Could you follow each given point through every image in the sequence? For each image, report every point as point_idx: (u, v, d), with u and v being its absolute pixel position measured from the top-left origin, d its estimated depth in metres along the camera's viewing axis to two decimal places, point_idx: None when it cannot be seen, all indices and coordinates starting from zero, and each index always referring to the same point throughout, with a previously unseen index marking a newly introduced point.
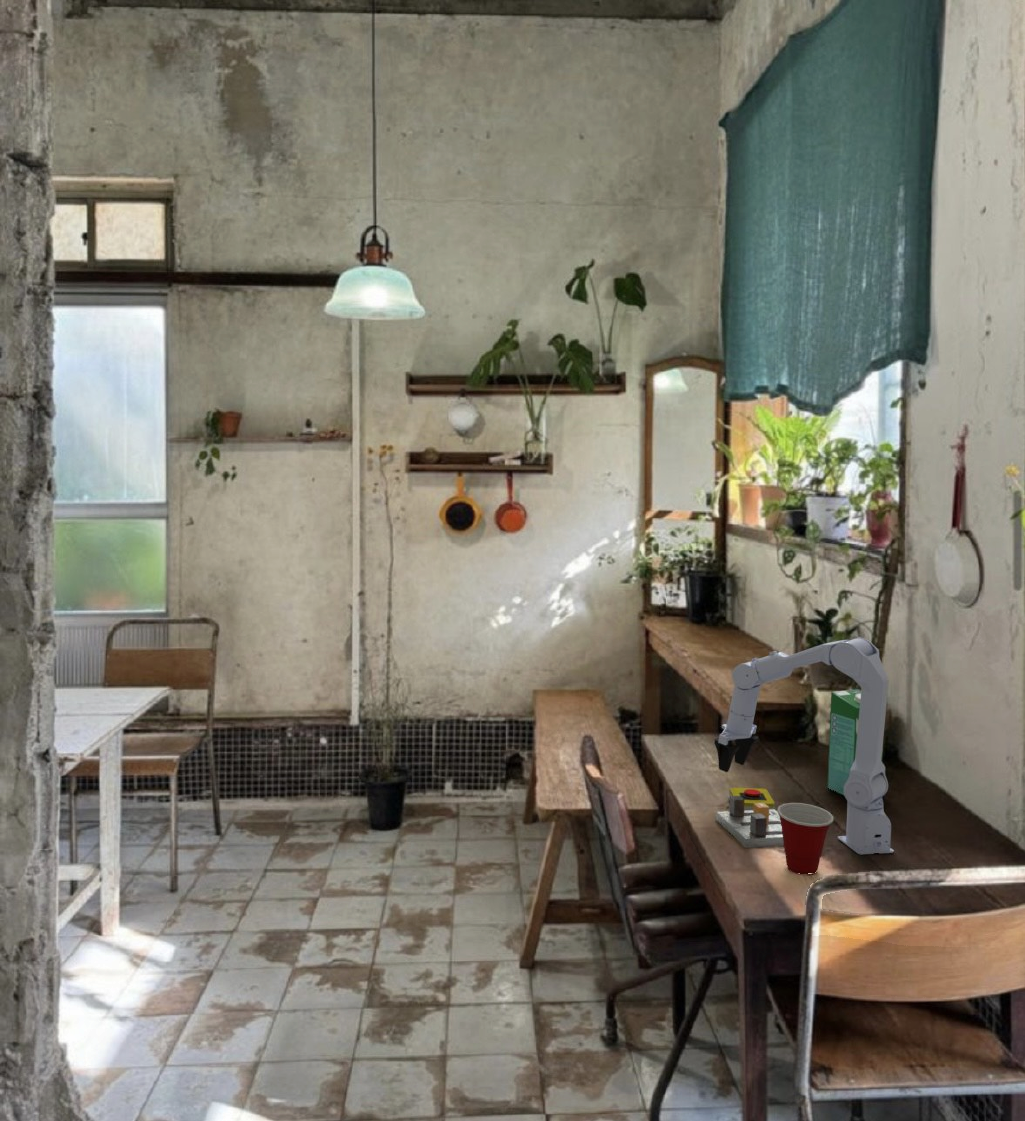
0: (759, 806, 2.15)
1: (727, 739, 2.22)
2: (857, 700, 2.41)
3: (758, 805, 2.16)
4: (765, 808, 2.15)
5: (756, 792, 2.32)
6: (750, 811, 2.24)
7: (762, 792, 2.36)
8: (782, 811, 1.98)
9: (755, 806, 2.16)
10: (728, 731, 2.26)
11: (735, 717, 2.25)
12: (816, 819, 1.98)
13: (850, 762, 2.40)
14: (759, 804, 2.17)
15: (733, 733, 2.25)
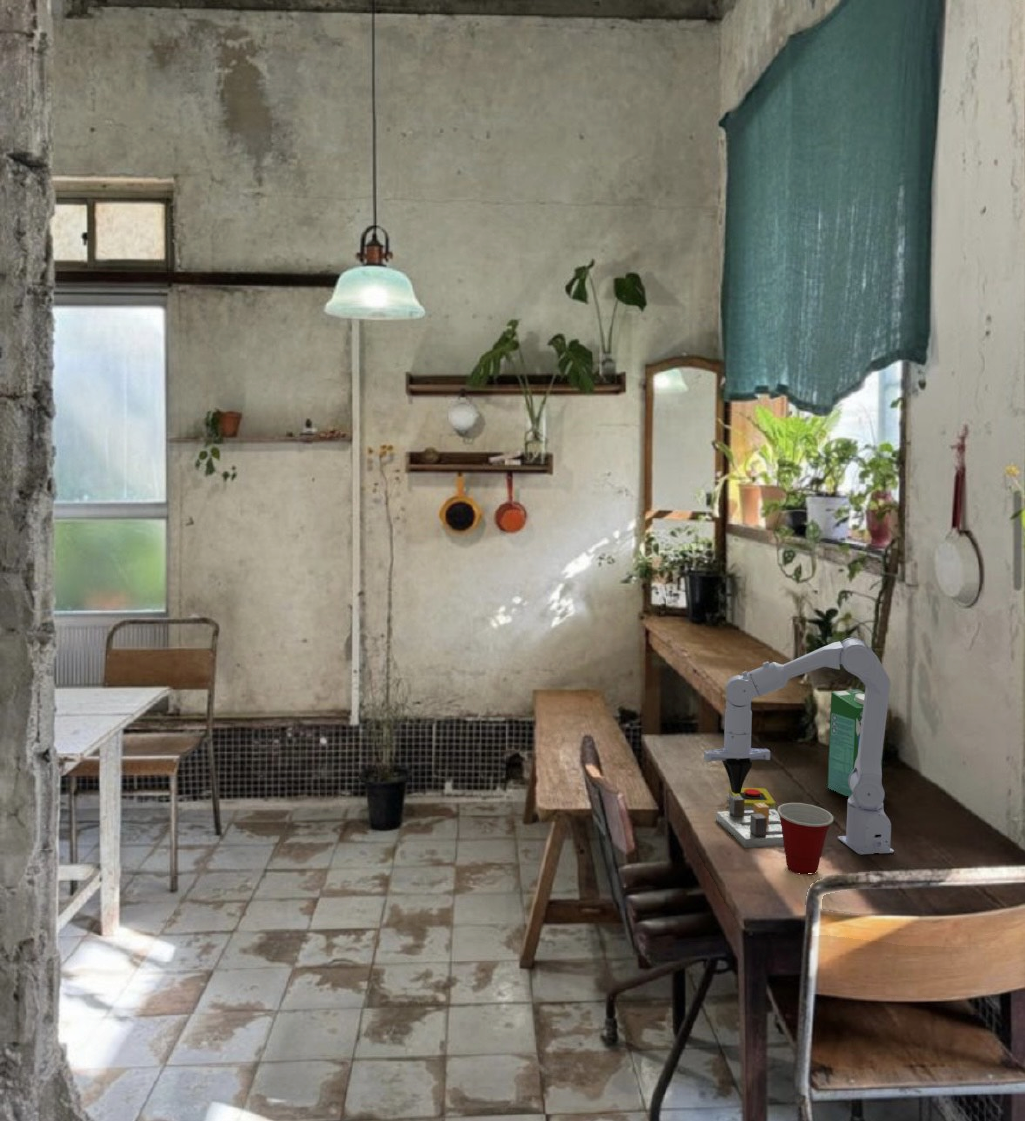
0: (759, 806, 2.15)
1: (708, 755, 2.12)
2: (857, 700, 2.41)
3: (758, 805, 2.16)
4: (765, 808, 2.15)
5: (756, 792, 2.32)
6: (750, 811, 2.24)
7: (762, 792, 2.36)
8: (782, 811, 1.98)
9: (755, 806, 2.16)
10: (723, 750, 2.15)
11: (725, 734, 2.13)
12: (816, 819, 1.98)
13: (849, 762, 2.40)
14: (759, 804, 2.17)
15: (724, 752, 2.13)
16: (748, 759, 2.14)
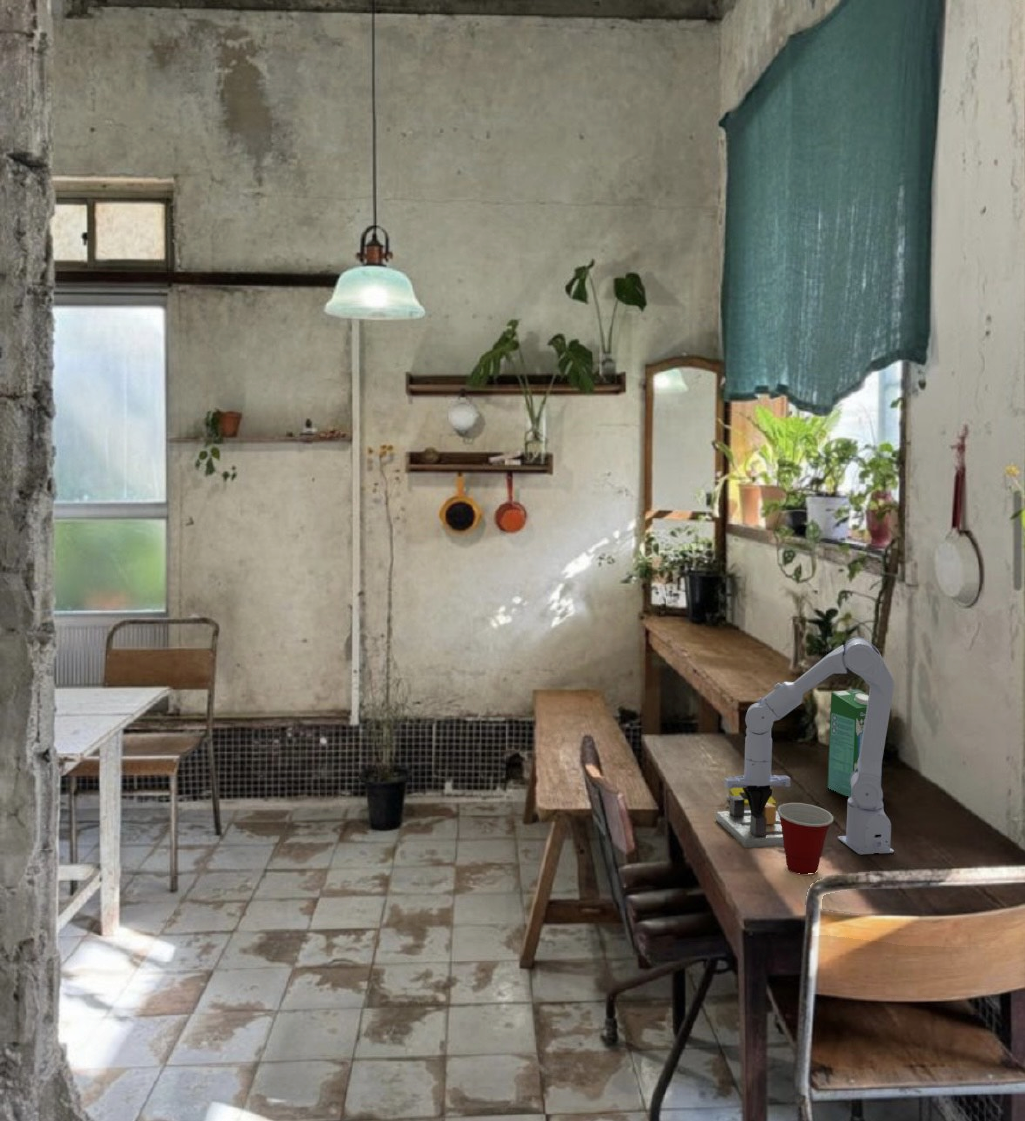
0: (766, 806, 2.15)
1: (729, 783, 2.13)
2: (857, 700, 2.41)
3: (765, 805, 2.16)
4: (772, 808, 2.15)
5: None
6: (750, 811, 2.24)
7: None
8: (782, 811, 1.98)
9: None
10: (743, 777, 2.16)
11: (745, 761, 2.14)
12: (816, 819, 1.98)
13: (849, 762, 2.40)
14: (766, 804, 2.17)
15: (744, 779, 2.14)
16: (768, 786, 2.15)
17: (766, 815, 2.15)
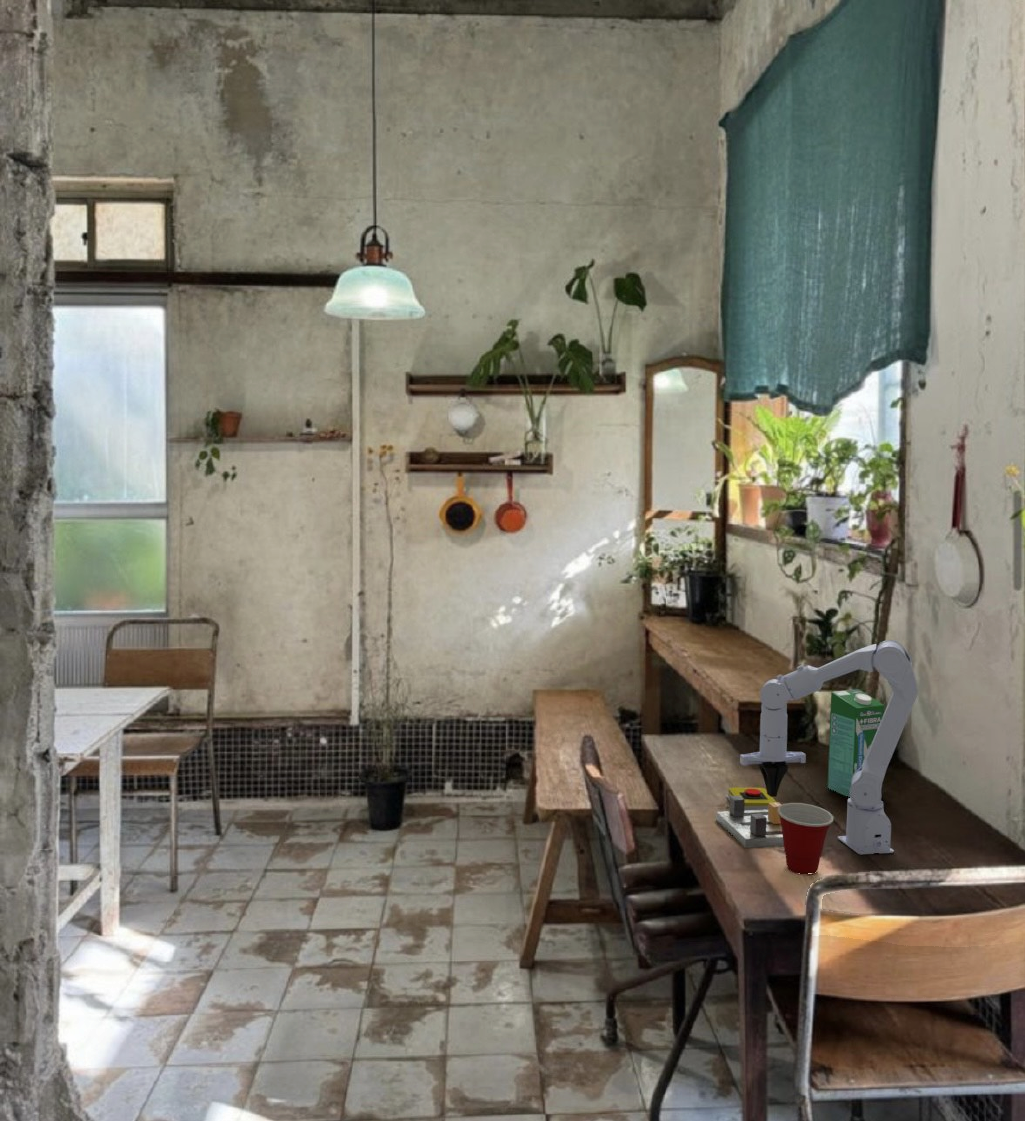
0: (774, 805, 2.16)
1: (745, 759, 2.13)
2: (857, 700, 2.41)
3: (773, 804, 2.16)
4: None
5: (757, 791, 2.32)
6: (750, 811, 2.24)
7: (761, 791, 2.36)
8: (782, 811, 1.98)
9: (770, 805, 2.17)
10: (758, 754, 2.16)
11: (761, 738, 2.14)
12: (816, 819, 1.98)
13: (849, 762, 2.40)
14: (773, 803, 2.17)
15: (760, 755, 2.15)
16: (784, 762, 2.15)
17: (774, 815, 2.15)
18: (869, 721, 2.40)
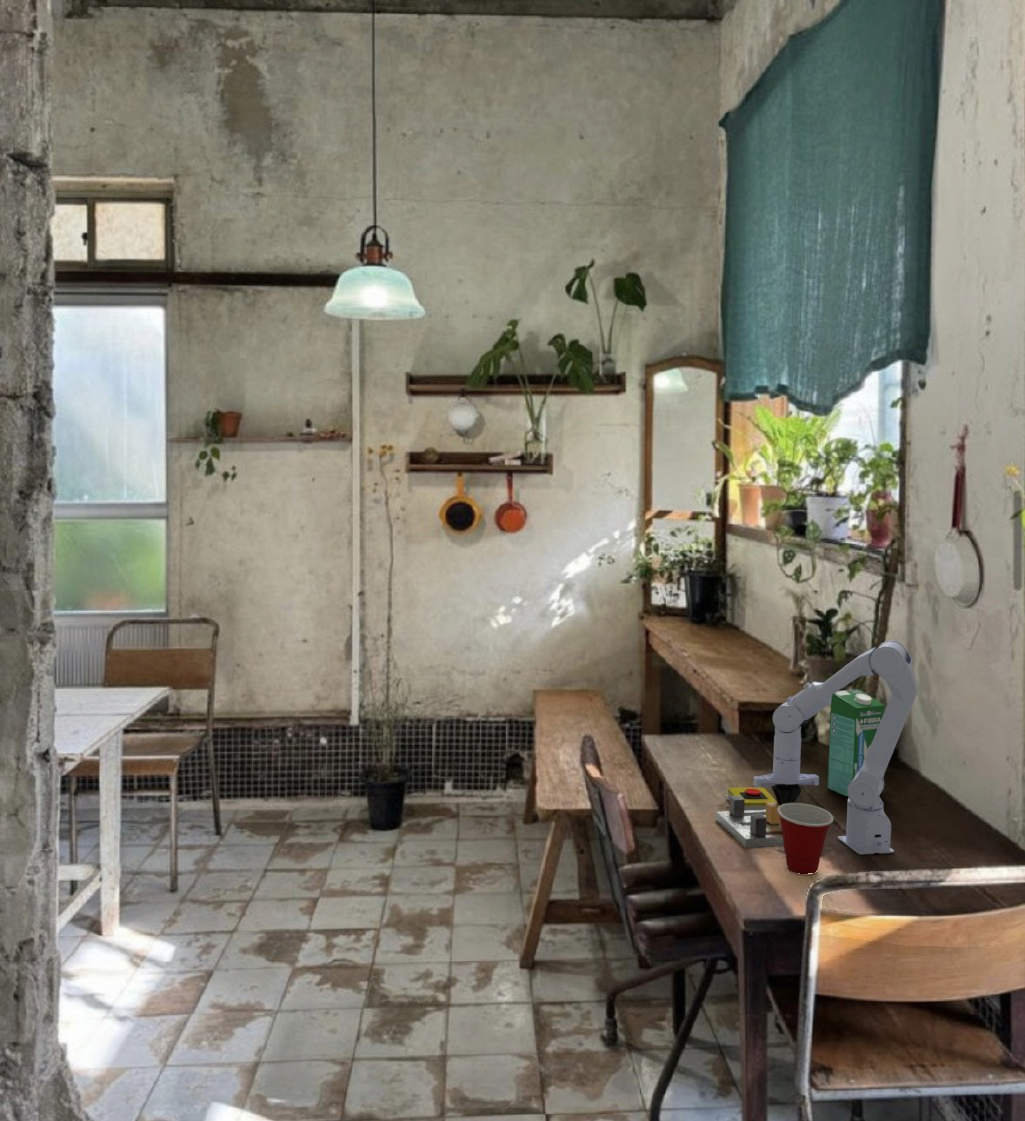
0: (771, 805, 2.16)
1: (758, 781, 2.14)
2: (857, 700, 2.41)
3: (771, 805, 2.16)
4: (777, 807, 2.15)
5: (757, 791, 2.33)
6: (750, 811, 2.24)
7: (761, 791, 2.37)
8: (782, 811, 1.98)
9: (767, 805, 2.17)
10: (772, 776, 2.17)
11: (774, 760, 2.16)
12: (816, 819, 1.98)
13: (849, 762, 2.40)
14: (771, 803, 2.17)
15: (773, 778, 2.16)
16: (797, 785, 2.16)
17: (772, 815, 2.15)
18: (869, 721, 2.40)
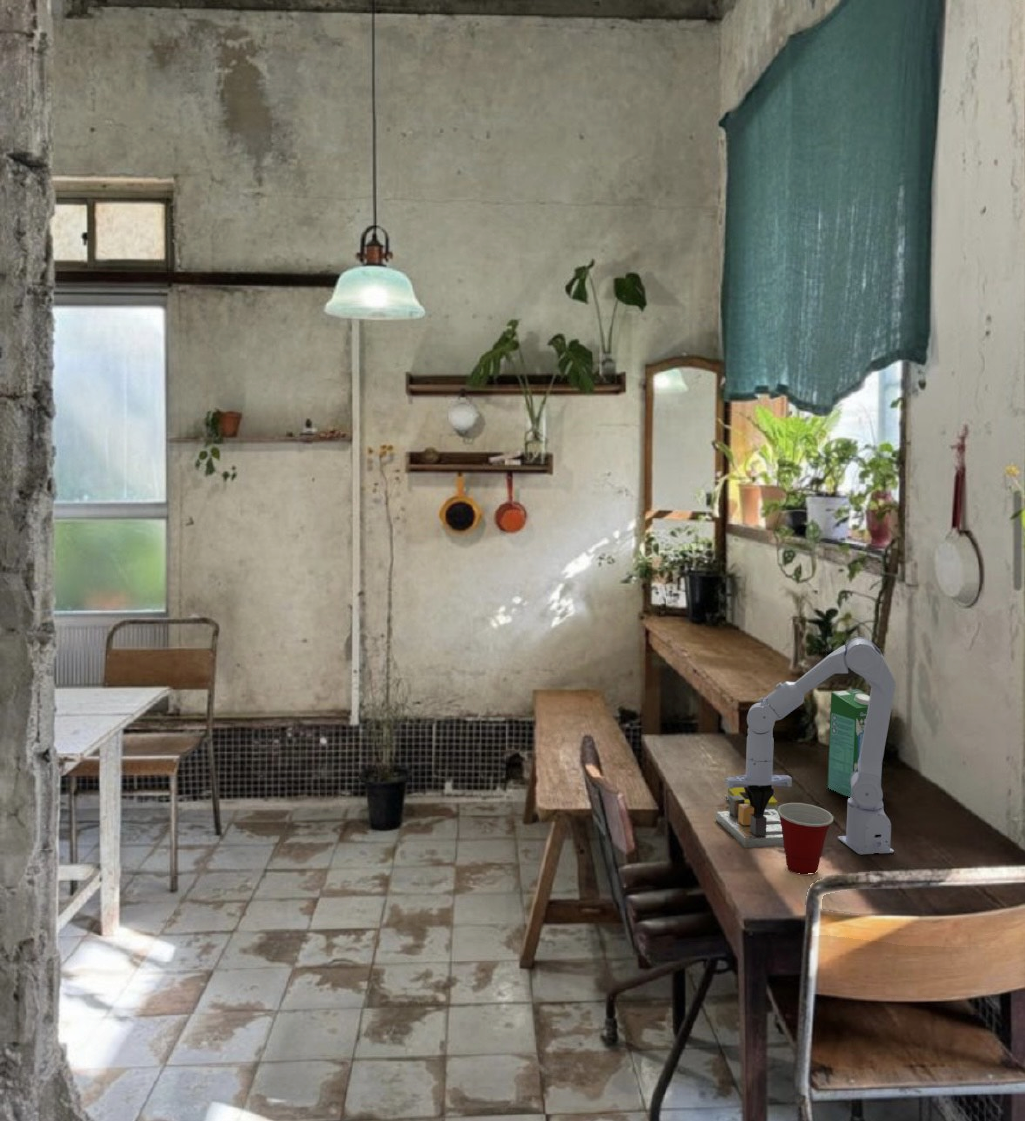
0: (744, 807, 2.15)
1: (730, 782, 2.13)
2: (857, 700, 2.41)
3: (743, 806, 2.15)
4: (750, 809, 2.14)
5: None
6: None
7: None
8: (782, 811, 1.98)
9: (740, 807, 2.16)
10: (744, 777, 2.16)
11: (747, 761, 2.15)
12: (816, 819, 1.98)
13: (849, 762, 2.40)
14: (744, 805, 2.16)
15: (746, 779, 2.15)
16: (770, 786, 2.15)
17: (744, 816, 2.14)
18: None
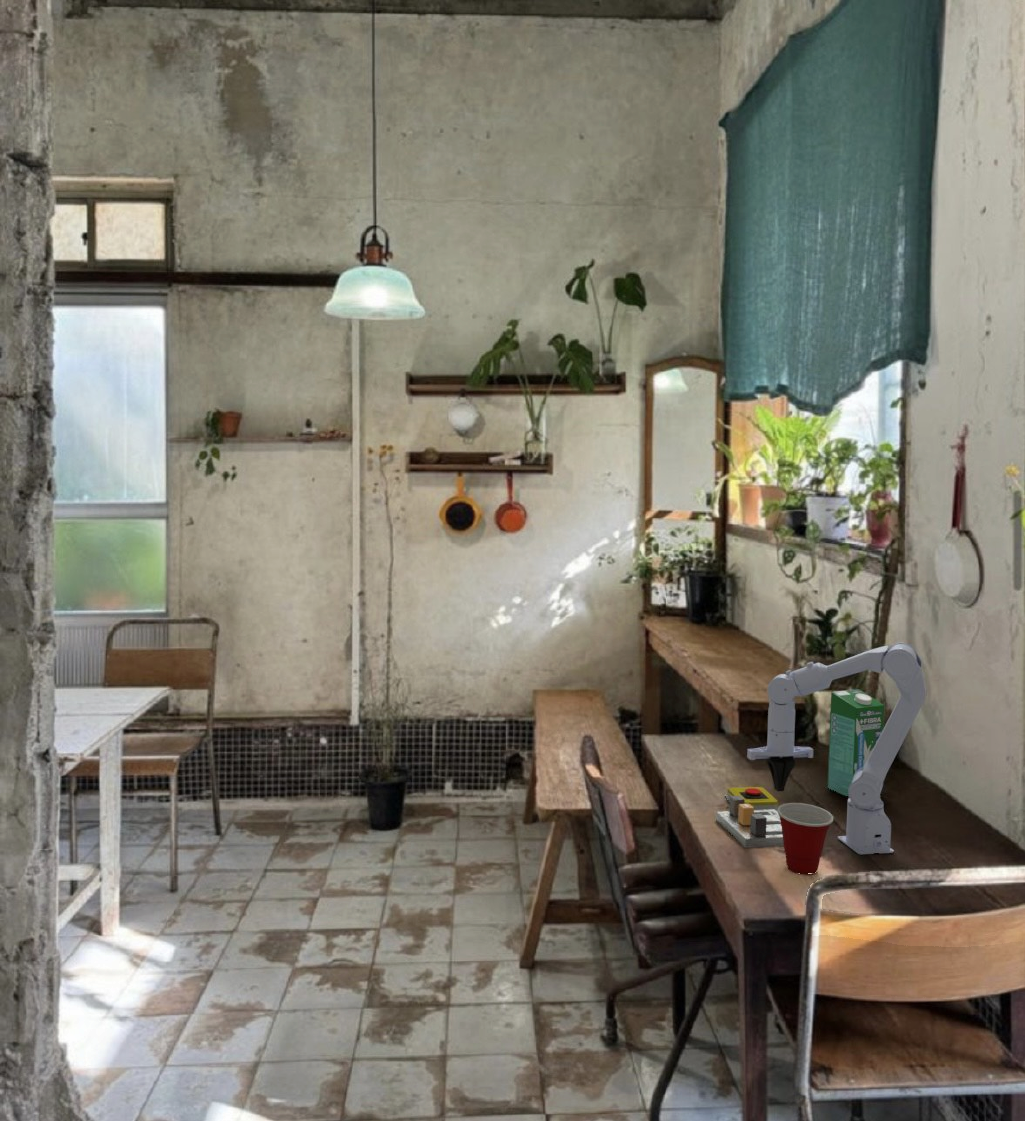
0: (744, 807, 2.15)
1: (752, 753, 2.14)
2: (857, 700, 2.41)
3: (743, 806, 2.15)
4: (750, 809, 2.14)
5: (757, 791, 2.33)
6: None
7: (760, 790, 2.37)
8: (782, 811, 1.98)
9: (740, 807, 2.16)
10: (766, 749, 2.16)
11: (768, 732, 2.15)
12: (816, 819, 1.98)
13: (850, 762, 2.40)
14: (744, 805, 2.16)
15: (768, 750, 2.15)
16: (791, 757, 2.15)
17: (744, 816, 2.14)
18: (869, 721, 2.40)
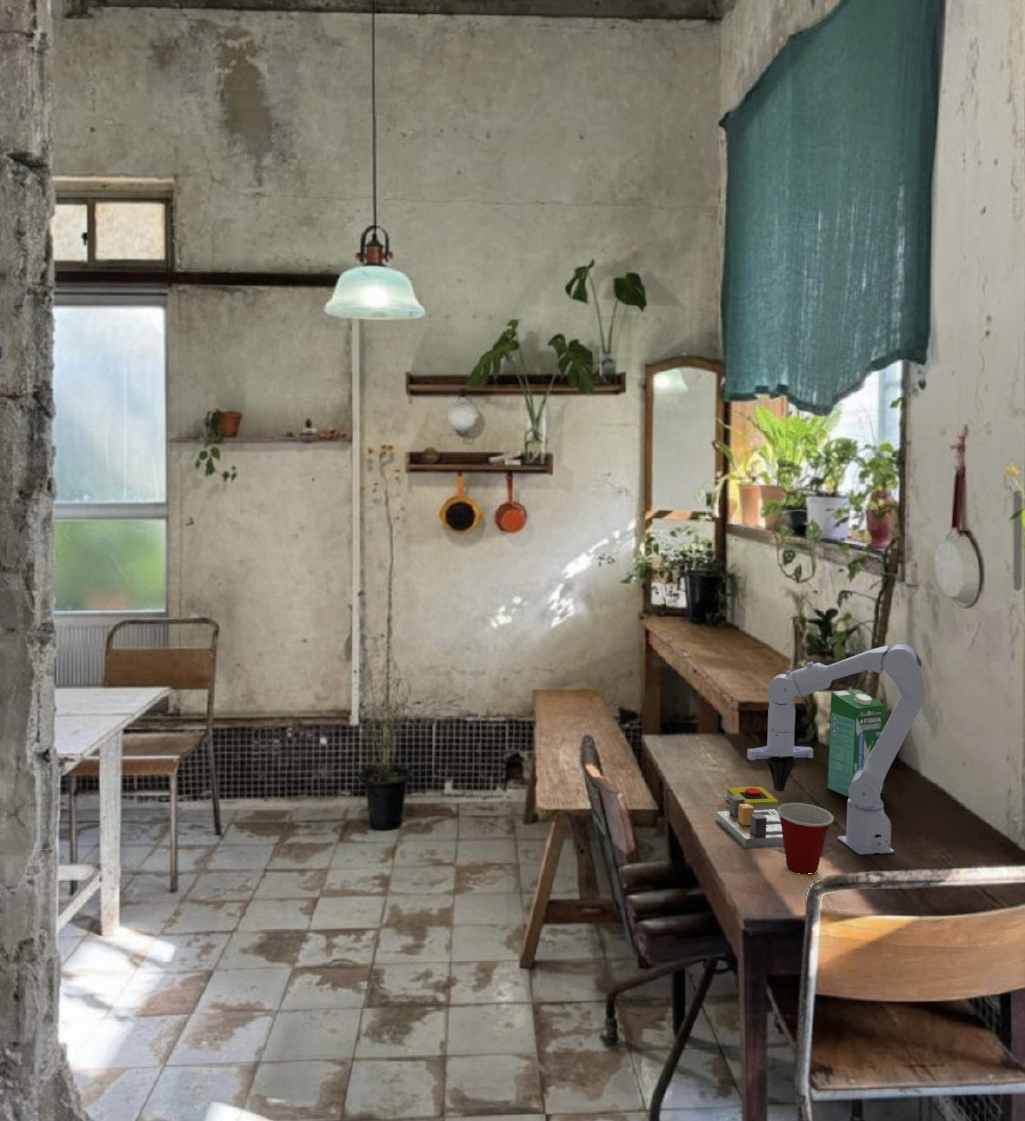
0: (744, 807, 2.15)
1: (752, 753, 2.14)
2: (857, 700, 2.41)
3: (743, 806, 2.15)
4: (750, 809, 2.14)
5: (757, 791, 2.33)
6: None
7: None
8: (782, 811, 1.98)
9: (740, 807, 2.16)
10: (766, 749, 2.16)
11: (768, 732, 2.15)
12: (816, 819, 1.98)
13: (849, 762, 2.40)
14: (744, 805, 2.16)
15: (768, 750, 2.15)
16: (791, 757, 2.15)
17: (744, 816, 2.14)
18: (869, 721, 2.40)
